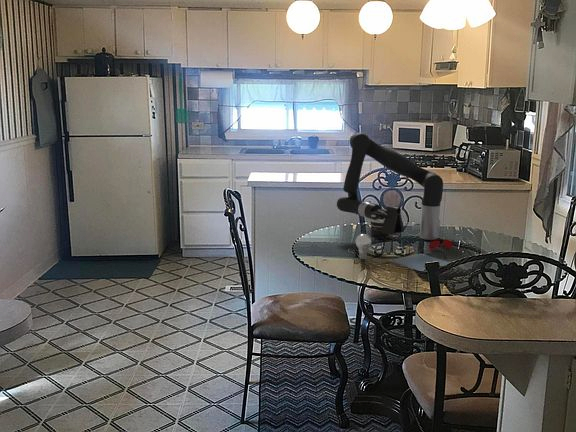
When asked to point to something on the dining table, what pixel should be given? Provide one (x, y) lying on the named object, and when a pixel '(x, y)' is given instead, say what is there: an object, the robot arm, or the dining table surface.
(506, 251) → the dining table surface
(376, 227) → the jar
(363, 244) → the light bulb
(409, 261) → the tray
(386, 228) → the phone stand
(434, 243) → the glasses
